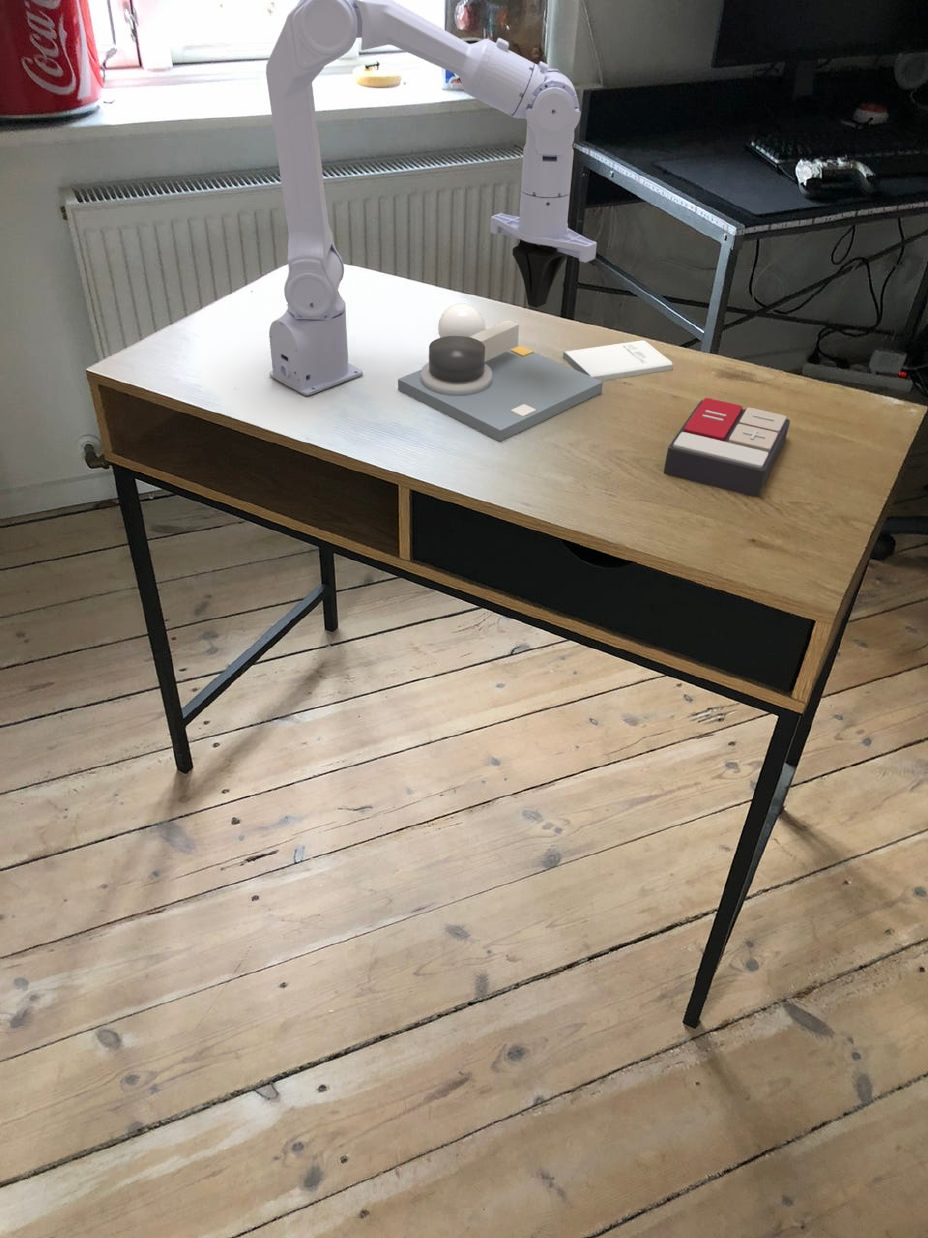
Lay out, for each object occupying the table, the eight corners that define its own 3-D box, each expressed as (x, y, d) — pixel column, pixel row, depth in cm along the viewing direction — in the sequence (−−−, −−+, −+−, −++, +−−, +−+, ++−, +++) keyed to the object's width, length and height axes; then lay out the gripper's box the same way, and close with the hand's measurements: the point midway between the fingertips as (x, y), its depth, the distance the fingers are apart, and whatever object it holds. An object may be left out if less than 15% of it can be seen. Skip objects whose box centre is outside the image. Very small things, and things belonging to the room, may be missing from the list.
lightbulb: (455, 351, 147) (467, 365, 138) (421, 321, 145) (432, 334, 135) (484, 316, 146) (498, 328, 136) (451, 286, 144) (463, 296, 134)
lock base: (499, 441, 121) (501, 422, 120) (398, 389, 131) (397, 371, 129) (601, 392, 132) (603, 374, 130) (500, 347, 142) (501, 330, 140)
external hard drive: (562, 361, 140) (641, 348, 144) (589, 387, 134) (671, 373, 138) (563, 350, 139) (643, 337, 143) (591, 375, 133) (673, 361, 137)
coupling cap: (458, 387, 126) (459, 364, 124) (417, 369, 129) (417, 347, 127) (532, 351, 134) (534, 329, 132) (491, 335, 138) (492, 314, 136)
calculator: (792, 413, 122) (766, 465, 111) (784, 445, 124) (757, 499, 113) (702, 393, 125) (668, 441, 114) (695, 425, 128) (662, 475, 117)
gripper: (616, 197, 118) (603, 311, 126) (518, 170, 125) (511, 279, 133) (580, 210, 113) (569, 327, 122) (480, 182, 121) (476, 294, 129)
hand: (536, 303), depth 127 cm, fingers closed
